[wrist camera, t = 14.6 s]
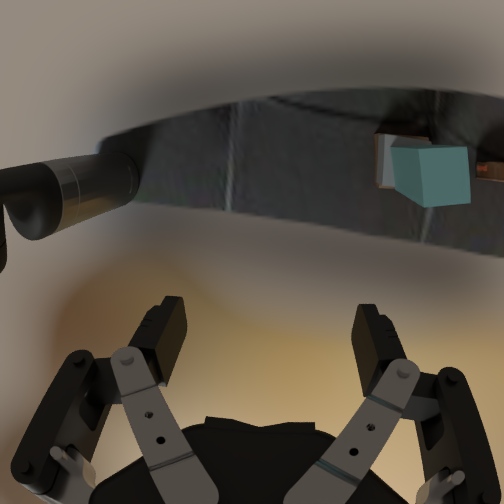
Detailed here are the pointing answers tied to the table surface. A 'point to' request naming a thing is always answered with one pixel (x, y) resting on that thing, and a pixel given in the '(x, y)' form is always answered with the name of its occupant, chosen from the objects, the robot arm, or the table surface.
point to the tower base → (376, 139)
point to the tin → (490, 171)
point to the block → (432, 174)
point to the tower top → (385, 159)
